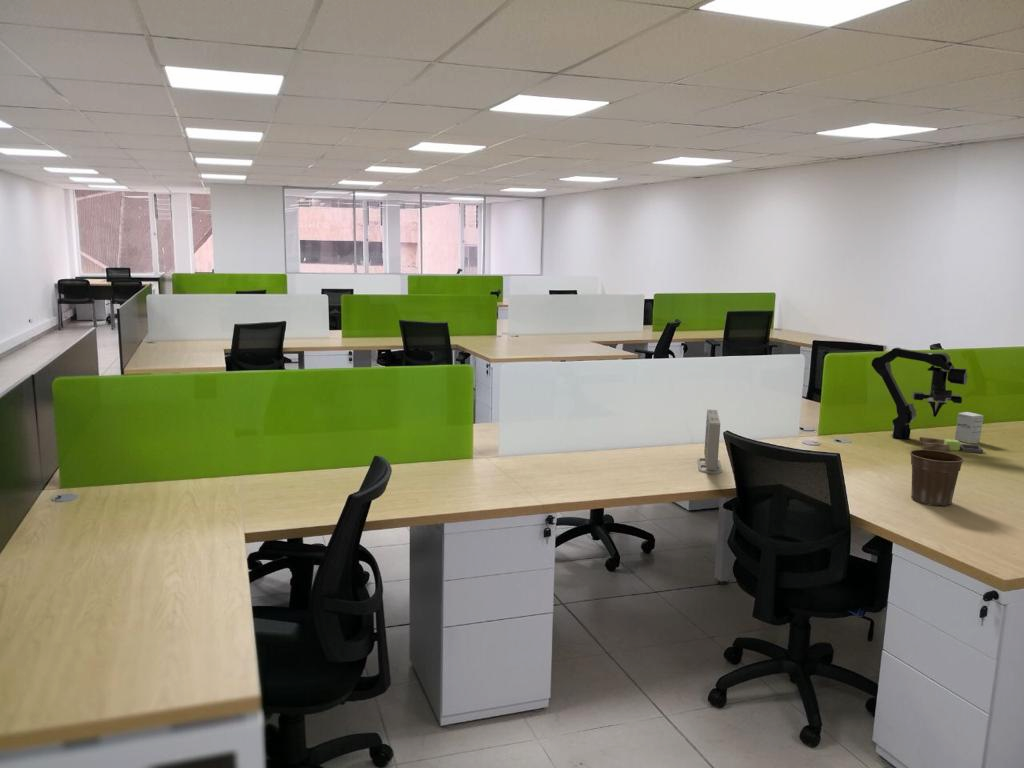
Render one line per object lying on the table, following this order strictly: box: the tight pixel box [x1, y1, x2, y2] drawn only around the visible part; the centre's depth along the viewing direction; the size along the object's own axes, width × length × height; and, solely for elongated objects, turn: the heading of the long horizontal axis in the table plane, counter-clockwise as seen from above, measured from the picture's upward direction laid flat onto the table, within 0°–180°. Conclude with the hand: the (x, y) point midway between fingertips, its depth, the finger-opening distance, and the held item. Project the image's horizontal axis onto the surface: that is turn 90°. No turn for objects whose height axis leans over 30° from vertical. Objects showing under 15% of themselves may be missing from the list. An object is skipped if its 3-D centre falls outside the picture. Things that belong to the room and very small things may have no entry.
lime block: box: [943, 438, 961, 451], centre depth 337 cm, size 5×5×4 cm
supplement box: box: [954, 411, 984, 445], centre depth 349 cm, size 7×7×13 cm
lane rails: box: [918, 436, 950, 452], centre depth 339 cm, size 10×11×2 cm
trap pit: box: [959, 443, 984, 454], centre depth 334 cm, size 8×8×2 cm
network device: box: [696, 409, 723, 474], centre depth 300 cm, size 26×9×20 cm, turn 168°
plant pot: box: [909, 448, 965, 507], centre depth 264 cm, size 16×16×16 cm
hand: (934, 416), depth 344 cm, fingers closed
